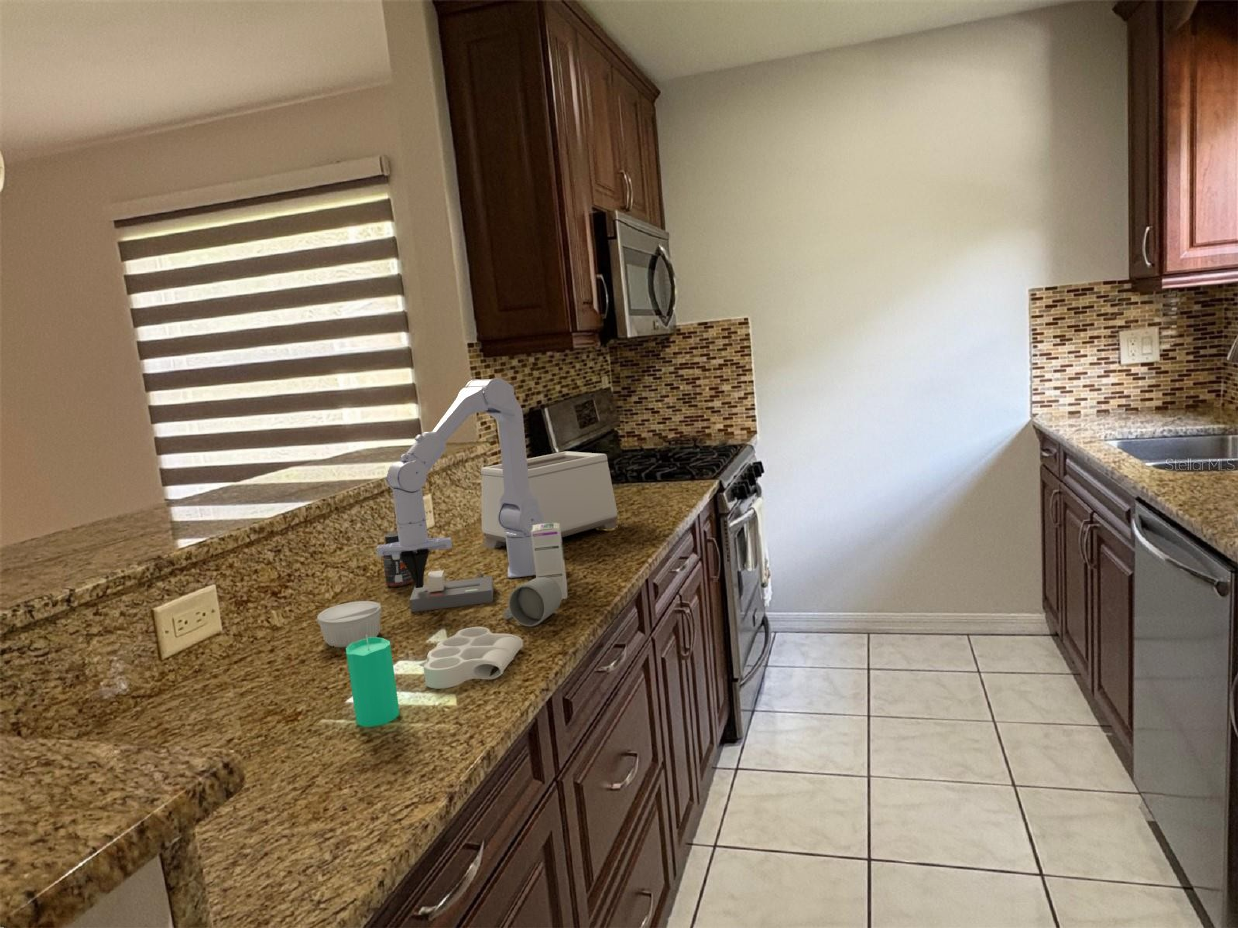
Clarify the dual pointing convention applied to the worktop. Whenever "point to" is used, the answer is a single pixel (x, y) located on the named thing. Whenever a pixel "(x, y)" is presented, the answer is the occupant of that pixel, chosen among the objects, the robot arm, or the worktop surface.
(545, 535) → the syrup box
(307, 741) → the worktop surface
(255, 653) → the worktop surface
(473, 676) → the white multi-cup tray
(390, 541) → the supplement bottle
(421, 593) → the panel
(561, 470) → the toaster
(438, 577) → the breaker knob
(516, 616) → the ceramic mug
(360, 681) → the candle
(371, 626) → the ramekin
